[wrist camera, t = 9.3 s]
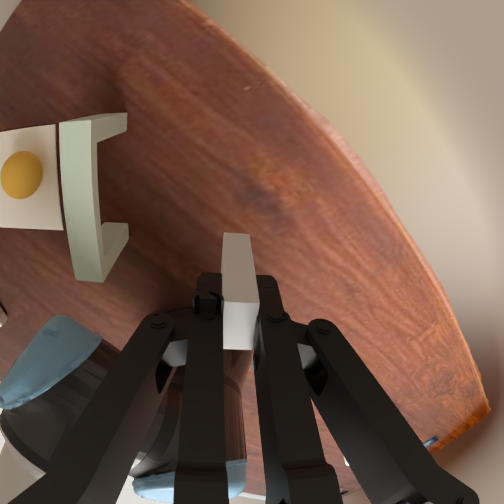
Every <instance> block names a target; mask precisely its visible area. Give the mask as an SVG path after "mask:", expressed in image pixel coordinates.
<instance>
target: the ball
mask: <svg viewBox="0 0 504 504" xmlns="http://www.w3.org/2000/svg"><path fill="white" fill-rule="evenodd" d="M42 178H43V168H42V164H41V162H40V160H39V158H38V157H37V156H36V155H35V154H33V153H31V152H29V151H19V152H16V153H14V154H12V155H11V156H10V157H9V158H8V159H7V160H6V161H5V163H4V165H3V167H2V170H1V176H0V180H1V185H2V188H3V190H4V191H5V193H6V194H7V195H8V196H10V197H12V198H14V199H25V198H28V197H30V196H31V195H33V194H34V193H35V192H36V191H37V189H38V188H39V186H40V184H41V181H42Z"/></svg>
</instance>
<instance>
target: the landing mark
mask: <svg viewBox="0 0 504 504" xmlns="http://www.w3.org/2000/svg"><path fill="white" fill-rule="evenodd" d="M19 151H29V152H31V153H33V154H35V155H36V156H37V157H38V158H39V160H40V162H41V164H42V168H43V178H42V181H41V184H40V186H39V188H38V189H37V191H36V192H35V193H34V194H33V195H31V196H30V197H28V198H25V199H14V198H12V197H10V196H8V195H7V194H6V193H5V191H4V190H3V188H2V185H1V180H0V227H4V228H26V229H46V230H64V229H63V222H62V214H61V206H60V197H59V186H58V173H57V155H56V124H52V125H44V126H36V127H28V128H22V129H15V130H9V131H3V132H0V176H1V170H2V167H3V165H4V163H5V161H6V160H7V159H8V158H9V157H10V156H11V155H12V154H14V153H16V152H19Z"/></svg>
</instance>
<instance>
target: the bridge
mask: <svg viewBox="0 0 504 504" xmlns="http://www.w3.org/2000/svg"><path fill="white" fill-rule="evenodd" d="M126 131H127V113H105V114H97V115H92V116H87V117H82V118H77V119H73V120H68V121H64V122H60V123H59V143H60V168H61V182H62V194H63V204H64V212H65V220H66V228H67V234H68V241H69V247H70V253H71V258H72V264H73V269H74V274H75V278H76V280H81V281H91V282H101V283H103V282H104V281H105V279H106V277H107V275H108V274H109V272H110V270H111V268H112V267H113V265H114V263H115V261H116V260H117V258H118V256H119V255H120V253H121V251H122V250H123V248H124V246H125V245H126V243H127V242H128V240H129V231H128V223H113V222H104V223H103V224H102V226H101V221H100V209H99V195H98V175H97V142H100V141H102V140H105V139H107V138H110V137H112V136H115V135H118V134H120V133H123V132H126Z"/></svg>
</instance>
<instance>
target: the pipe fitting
mask: <svg viewBox="0 0 504 504" xmlns="http://www.w3.org/2000/svg"><path fill="white" fill-rule="evenodd" d="M7 319H8V318H7V316H6V314H5V312H4V311H3V309H2V308H1V306H0V327H1V326H3V325H4V324H5V323H6V321H7Z"/></svg>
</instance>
